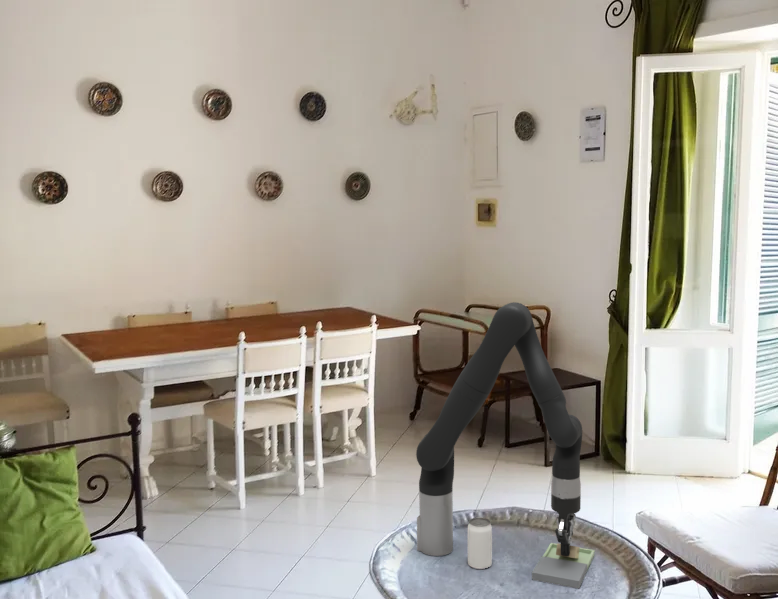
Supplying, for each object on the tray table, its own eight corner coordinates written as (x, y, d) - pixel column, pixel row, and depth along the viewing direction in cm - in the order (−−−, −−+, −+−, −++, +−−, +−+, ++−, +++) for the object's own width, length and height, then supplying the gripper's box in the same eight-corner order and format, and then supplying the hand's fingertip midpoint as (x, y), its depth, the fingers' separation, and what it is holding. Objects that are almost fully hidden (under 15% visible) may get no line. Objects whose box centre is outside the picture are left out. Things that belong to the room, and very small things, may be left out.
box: (542, 562, 218) (542, 557, 218) (550, 547, 227) (550, 542, 227) (587, 570, 213) (587, 565, 213) (594, 555, 222) (594, 550, 222)
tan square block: (555, 554, 217) (557, 543, 218) (559, 555, 221) (561, 543, 222) (574, 558, 215) (575, 546, 216) (578, 558, 219) (579, 547, 220)
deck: (531, 579, 209) (531, 572, 209) (541, 563, 218) (541, 556, 218) (578, 588, 204) (579, 581, 204) (587, 571, 213) (587, 564, 213)
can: (491, 570, 214) (490, 527, 213) (466, 569, 216) (466, 525, 214) (492, 559, 221) (492, 517, 219) (468, 558, 222) (468, 515, 220)
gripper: (557, 481, 221) (557, 542, 223) (545, 498, 209) (544, 563, 211) (585, 485, 217) (584, 547, 220) (574, 502, 205) (574, 568, 208)
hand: (565, 554), depth 215 cm, fingers closed
